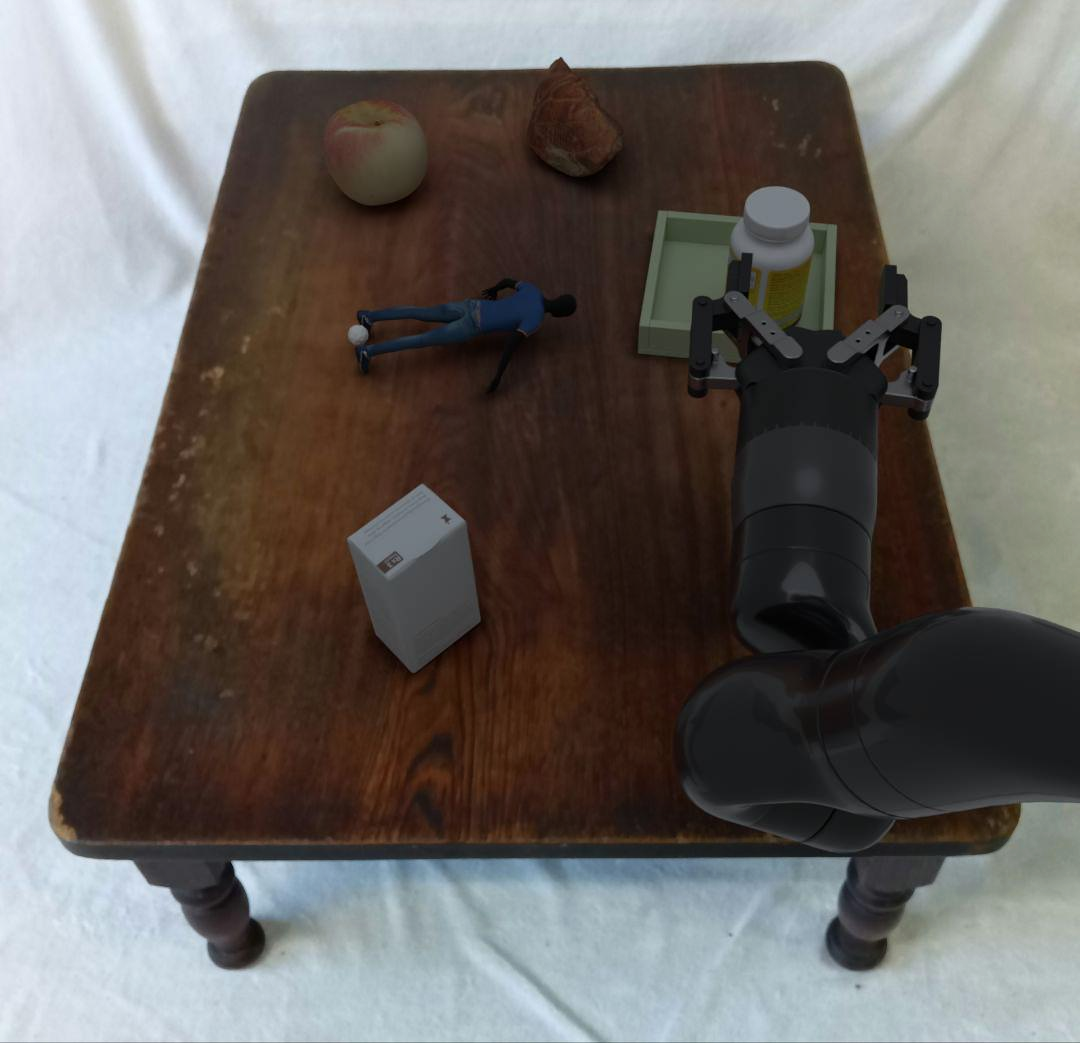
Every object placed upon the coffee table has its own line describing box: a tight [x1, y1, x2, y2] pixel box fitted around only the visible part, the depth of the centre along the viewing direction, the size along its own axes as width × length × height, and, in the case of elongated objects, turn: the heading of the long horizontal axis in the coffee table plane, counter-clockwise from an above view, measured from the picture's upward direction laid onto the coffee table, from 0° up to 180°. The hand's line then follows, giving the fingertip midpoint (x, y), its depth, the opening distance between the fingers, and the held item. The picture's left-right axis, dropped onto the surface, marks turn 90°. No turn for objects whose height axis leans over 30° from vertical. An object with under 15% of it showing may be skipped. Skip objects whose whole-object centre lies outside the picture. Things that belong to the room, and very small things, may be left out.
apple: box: [322, 99, 429, 206], centre depth 103 cm, size 9×9×8 cm
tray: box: [637, 209, 838, 364], centre depth 95 cm, size 15×14×3 cm
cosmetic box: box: [346, 483, 482, 674], centre depth 74 cm, size 6×4×12 cm
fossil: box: [525, 56, 626, 178], centre depth 106 cm, size 13×8×10 cm
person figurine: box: [347, 277, 578, 396], centre depth 93 cm, size 11×4×18 cm
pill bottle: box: [724, 185, 814, 330], centre depth 90 cm, size 6×6×11 cm
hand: (815, 268), depth 73 cm, fingers open, 8 cm apart
